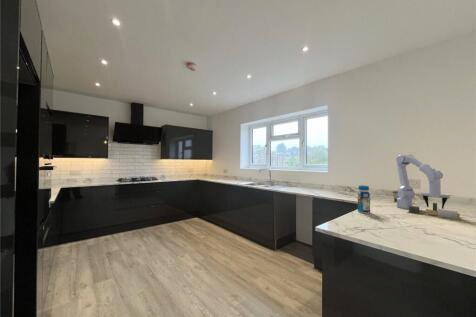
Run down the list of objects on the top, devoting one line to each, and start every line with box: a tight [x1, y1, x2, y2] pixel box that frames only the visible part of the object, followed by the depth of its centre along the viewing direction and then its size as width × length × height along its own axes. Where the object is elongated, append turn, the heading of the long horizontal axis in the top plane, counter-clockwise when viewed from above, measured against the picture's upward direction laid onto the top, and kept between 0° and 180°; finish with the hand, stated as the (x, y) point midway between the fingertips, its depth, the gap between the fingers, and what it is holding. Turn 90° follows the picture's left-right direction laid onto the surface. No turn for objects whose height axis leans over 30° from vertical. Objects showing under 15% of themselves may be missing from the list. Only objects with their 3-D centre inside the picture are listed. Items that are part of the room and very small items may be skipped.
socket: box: [408, 204, 420, 214], centre depth 149 cm, size 5×7×4 cm
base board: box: [406, 210, 462, 222], centre depth 142 cm, size 26×12×1 cm, turn 42°
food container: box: [392, 190, 400, 203], centre depth 193 cm, size 12×6×10 cm, turn 59°
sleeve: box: [437, 208, 458, 219], centre depth 136 cm, size 9×4×4 cm, turn 42°
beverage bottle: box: [357, 185, 371, 214], centre depth 154 cm, size 8×8×20 cm
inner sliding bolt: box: [425, 202, 461, 218], centre depth 138 cm, size 16×3×8 cm, turn 42°
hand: (435, 207), depth 141 cm, fingers open, 7 cm apart
